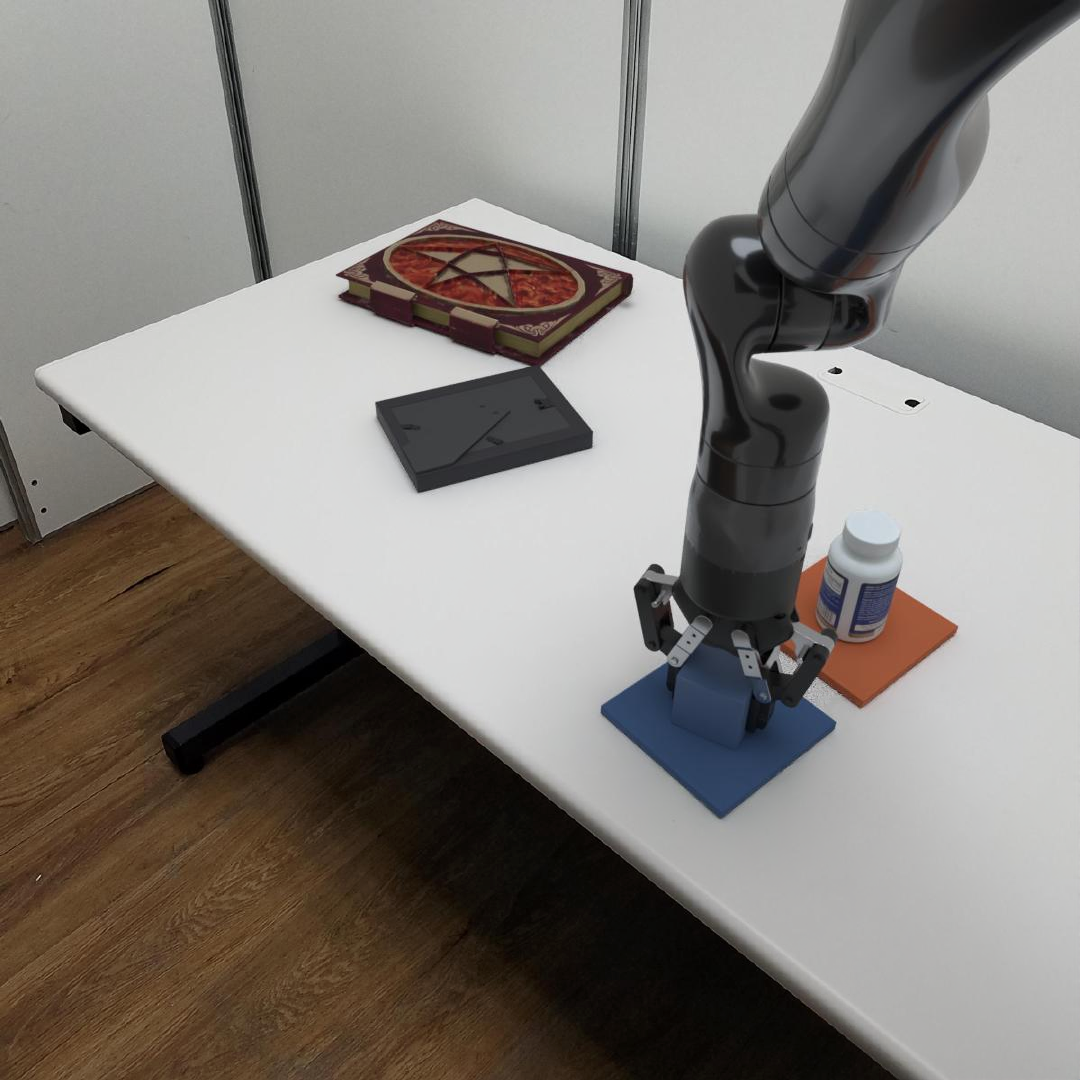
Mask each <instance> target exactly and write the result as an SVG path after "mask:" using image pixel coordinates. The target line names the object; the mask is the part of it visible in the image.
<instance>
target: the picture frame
mask: <svg viewBox="0 0 1080 1080" xmlns="http://www.w3.org/2000/svg"><path fill="white" fill-rule="evenodd" d="M374 405H375V406H374V407H375V412H376V413H375V414H376V419H377V420H378V422H379V424H380V426H381V428H382V430H383V432H384V433H385V435H386V437H387V439H388V440H389V442H390V444H391V446H392V448H393V450H394V452H395V453H396V455H397V457H398V459H399V461H400V463H401V464H402V467H403V468H404V470H405V472H406V474H407V475H408V477H409V479H410V481H411V482H412V485H413V486H414V487H415V489H416V492H417V493H421V492H426V491H429V490H434V489H437V488H442V487H445V486H448V485H449V486H450V485H453V484H457V483H461V482H465V481H468V480H472V479H475V478H479V477H484V476H488V475H490V474H495V473H498V472H502V471H506V470H511V469H514V468H518V467H522V466H525V465H529V464H533V463H536V462H537V463H538V462H540V461H545V460H548V459H552V458H553V459H554V458H556V457H561V456H564V455H567V454H571V453H575V452H580V451H584V450H587V449H590V448H593V445H594V444H593V443H594V431H593V429H592V428H591V427H590V426H589V424H588V423H587V422H586V421H585V420H584V418H583V417H582V416H581V414H579V412H578V411H577V410H576V408H575V407H573V405H572V404H571V402H570V401H569V400H568V398H566V397H565V395H564V394H563V393H562V392H561V390H560V389H559V387H557V385H556V384H555V383H554V382H553V380H552V379H551V378H550V377H549V376H548V375H547V373H546V372H545V370H543V369H542V367H541V366H540V365H534V364H533V365H531V366H526V367H522V368H521V367H520V368H518V369H517V368H516V369H513V370H509V371H504V372H499V373H495V374H491V375H487V376H482V377H479V378H478V377H477V378H473V379H470V380H465V381H461V382H455V383H452V384H447V385H443V386H439V387H435V388H430V389H426V390H420V391H417V392H412V393H409V394H404V395H400V396H395V397H391V398H386V399H381V400H378V401H374Z"/></svg>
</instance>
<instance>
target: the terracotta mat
mask: <svg viewBox="0 0 1080 1080" xmlns="http://www.w3.org/2000/svg"><path fill="white" fill-rule="evenodd" d="M827 556H828V554H826V555H825V556H824V557H822V558H821V559H820V560H818V561H817V562H815V563H814V564H812V565H810V566H809V567H807V568H806V569H804V570H802V573H801V578H800V583H799V587H798V592H797V597H796V602H795V604H796V609H797V611H798V614H799V617H800V623H802V624H804V625H806V626H807V627H809V628H811V629H813V630H814V631H816V632H818V633H820V631H821V630H822V629H823V628H822V627H821V626H820V625H819V623H818V621H817V619H816V607H817V601H818V596H819V592H820V587H821V583H822V578H823V574H824V569H825V565H826V560H827ZM958 629H959V626H958V625H957V624H955V622H953V621H951V620H949V619H948V618H946V617H945V616H943V615H942V614H941V613H938V612H936V611H935V610H933V609H932V608H930V607H929V606H927V605H925V604H924V603H922V602H921V601H919V600H918V599H916V598H915V597H913V596H911V595H910V594H908V593H906V592H905V591H903V590H902V589H901V588H899V587H897V586H896V588H895V592H894V595H893V599H892V602H891V605H890V609H889V612H888V616H887V620H886V623H885V626H884V628H883V630H882V632H881V633H880V634H879V635H878V636H877V637H876V638H874V639H872V640H869V641H866V642H847V641H843V640H840V639H838V640H837V642H836V644H835V646H834V648H833V650H832V652H831V654H830V656H829V658H828V660H827V662H826V664H825V665H824V667H823V668H822V670H821V671H820V673H819V674H818V675H817V677H818V678H819V679H820V680H822V681H823V682H824V683H826V684H828V685H829V686H830V687H832V689H834V690H836V692H839V693H840V694H841V695H843V696H844V697H845V698H846V699H848V700H849V701H850V702H852V703H854V705H856V706H857V707H859V708H860V709H862V708H863V707H865V706H866V705H867V704H869V703H870V702H871V701H872V700H873V699H874V698H876V697H877V696H879V695H880V694H881V693H882V692H884V691H885V690H886V689H887V688H889V687H890V686H891V685H892V684H894V683H895V682H897V680H899V679H900V678H901V677H903V676H904V675H905V674H906V673H908V672H909V671H910V670H911V669H913V668H914V667H916V665H918V664H920V662H922V661H923V660H924V659H925V658H926V657H928V656H929V655H930V654H932V653H933V652H934V651H936V650H937V649H938V648H939V647H941V646H942V645H943V644H945V643H946V642H947V641H948V640H949V639H951V638H952V637H953V636H954V635H955V634H957V632H958ZM780 651H782V652H784V653H785V654H787V656H788V657H790V658H792V660H794V661H796V659H797V657H796V655H795V644H794V643H793V641H791V640H790V639H789V640H788V641H786V642H784V643H782V644H780Z"/></svg>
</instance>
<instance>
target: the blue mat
mask: <svg viewBox="0 0 1080 1080" xmlns="http://www.w3.org/2000/svg"><path fill="white" fill-rule="evenodd" d="M668 664H669V663H668V661H666V662H665V663H662V665H660V666H658V667H656V669H654V670H652V671H651V672H649V673H648V674H646V675H644V677H642V678H640V679H639V680H637V681H636V682H635V683H633V684H631V685H630V686H627V688H625V689H623V690H622V691H621V692H620V693H618V694H616V695H615V696H613V697H612V698H610V699H609V700H607V701H606V702H604V703H603V704H601V705H600V714H601V715H602V716H604V717H605V718H606V719H607V720H608V721H609V722H610V723H611V724H613V725H614V726H615V727H616V728H617V729H619V731H621V732H622V733H623V734H624V735H625V736H626V737H627V738H629V739H630V741H631V742H633V743H634V744H635V745H636V746H638V748H640V749H641V750H642V751H643V752H644V753H645V754H646V755H648V756H649V757H650V759H652V760H653V761H654V762H655V763H657V764H658V765H659V766H660V767H661V768H662V769H663V770H664V771H665V772H667V773H668V774H669V775H670V776H671V777H673V778H674V780H676V781H677V782H678V783H679V785H682V786H683V788H685V789H686V790H687V791H688V792H689V793H690V794H692V795H693V796H694V797H695V798H696V800H698V801H699V802H700V803H702V804H703V805H704V806H705V807H706V808H707V809H708V810H710V811H711V812H712V813H713V814H715V816H716V817H718V818H719V819H720V820H721V819H723V818H724V817H726V816H727V815H728V814H729V813H731V812H732V811H733V810H734V809H735V808H737V807H738V806H739V805H741V804H742V803H743V802H744V801H746V800H747V799H748V798H749V797H751V796H752V795H753V794H754V793H756V792H757V791H759V790H760V789H761V788H763V786H764V785H766V784H767V783H768V782H770V781H771V780H772V779H774V778H775V777H776V776H777V775H778V774H780V773H781V772H782V771H784V770H785V769H786V768H788V767H789V766H790V765H791V764H792V763H793V762H795V761H796V760H798V759H799V758H800V757H801V756H803V755H804V754H805V753H807V751H809V750H810V749H811V748H813V747H814V746H815V745H816V744H818V743H820V741H822V740H823V739H824V738H825V737H827V736H828V735H829V734H831V733H832V732H833V731H834V730H835V729H836V726H837V724H838V723H837V721H836V720H834V719H833V718H832V717H831V716H830V715H828V714H826V713H825V712H824V711H823V710H822V709H820V708H819V707H817V706H816V705H814V704H813V703H812V702H811V701H810V700H808V699H807V698H805V697H804V696H803V697H802V699H801V700H800V702H799V703H798V705H797V706H796V707H794V708H790V707H787V706H785V705H784V704H783V703H782V702H781V700H776V703H775V707H774V713H773V715H772V717H771V718H770V720H769V722H768V724H767V726H766V727H765V728H764V729H763V730H761V729H759V728H757V729H756V731H755V733H754V734H753V733H750V732H748V731H746V733H745V735H744V737H743V739H742V740H741V742H740V744H739V746H738V748H737V749H736V751H735V750H733V749H730V748H728V747H726V746H723V745H721V744H719V743H716V742H714V741H712V740H709V739H707V738H705V737H702V736H700V735H698V734H695V733H693V732H691V731H689V730H686V729H684V728H682V727H679V726H677V725H675V724H672V723H671V718H672V709H673V701H674V700H673V699H672V693H673V692H671V691H669V690H668V688H667V685H666V682H667V673H668Z"/></svg>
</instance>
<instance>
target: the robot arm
mask: <svg viewBox="0 0 1080 1080" xmlns="http://www.w3.org/2000/svg"><path fill="white" fill-rule="evenodd" d="M1079 20H1080V0H845V2H844V6H843V9H842V12H841V15H840V19H839V23H838V26H837V29H836V35H835V37H834V41H833V46H832V49H831V51H830V56H829V59H828V61H827V64H826V67H825V69H824V72H823V75H822V76H821V80H820V81H819V84H818V86H817V88H816V90H815V91H814V93H813V96H812V98H811V100H810V102H809V104H808V105H807V107H806V109H805V110H804V112H803V114H802V115H801V117H800V119H799V121H798V123H797V125H796V126H795V128H794V130H793V131H792V134H791V136H790V137H789V139H788V141H787V142H786V144H785V146H784V148H783V150H782V151H781V154H780V155H779V157H778V159H777V161H776V162H775V164H774V166H773V168H772V170H771V171H770V174H769V175H768V177H767V179H766V182H765V183H764V186H763V188H762V191H761V195H760V198H759V200H758V206H757V213H739V214H737V213H736V214H728V215H724V216H719V217H717V218H715V219H713V220H711V221H709V222H708V223H707V224H706V225H705V226H703V228H702V229H701V230H700V231H699V232H698V233H697V234H696V236H695V237H694V239H693V240H692V242H691V243H690V246H689V248H688V250H687V252H686V255H685V257H684V258H685V259H684V262H683V268H682V288H683V294H684V295H683V296H684V302H685V307H686V311H687V316H688V321H689V323H690V328H691V332H692V337H693V340H694V345H695V349H696V350H695V351H696V354H697V359H698V367H699V373H700V382H701V397H702V398H701V401H702V402H701V407H702V408H701V409H702V410H701V421H700V428H699V429H700V431H699V439H698V446H697V447H698V448H697V457H696V464H695V470H694V473H693V477H692V479H691V483H690V487H689V492H688V498H687V507H686V515H685V523H684V524H685V525H684V533H683V534H684V535H683V543H682V552H681V560H680V569H679V570H680V571H679V575H678V576H676V575H672V574H666V572H665V569H664V568H663V567H662V566H661V565H660V564H657V563H651V564H650V565H649V566H648V567H647V568H646V570H645V571H644V572H643V574H642V575H641V577H640V578H639V579H638V581H637V582H636V583H635V585H633V594H634V599H635V603H636V611H637V613H638V614H637V615H638V619H639V624H640V630H641V633H642V639H643V644H644V646H645V648H646V649H647V650H648V651H650V652H654V653H657V652H659V651H660V652H661V653H662V654H664V655H665V657H666V662H668V663H669V664H668V673H667V682H666V685H667V688H668V690H669V691H671V692H673V693H672V699H673V700H674V692H675V684H676V676H677V674H678V673H679V671H680V670H681V668H682V667H683V665H684V664H685V662H686V661H687V659H688V658H689V656H690V655H691V654H692V653H693V651H694V650H695V649H696V647H697V646H698V645H699V644H700V642H701V641H702V643H703V644H705V645H708V646H710V647H714V648H719V649H723V650H725V651H727V652H728V653H730V654H732V655H733V656H736V657H738V658H740V661H741V665H742V668H743V672H744V676H745V677H746V678H749V679H750V682H751V686H752V690H753V695H752V697H751V699H750V704H749V710H748V715H747V720H746V725H745V730H746V731H748V732H750V733H753V734H754V733H755V731H756V729H757V728H759V729H761V730H763V729H764V728H765V727H766V726H767V724H768V722H769V720H770V718H771V717H772V715H773V713H774V707H775V703H776V700H781V702H782V703H783V704H784V705H785V706H787V707H790V708H794V707H796V706H797V705H798V703H799V702H800V700H801V699H802V697H804V696H805V694H806V693H807V692H808V690H809V689H810V687H811V686H812V684H813V683H814V681H815V680H816V678H817V677H818V676H817V675H818V674H819V673H820V671H821V670H822V668H823V667H824V665H825V664H826V662H827V660H828V658H829V656H830V654H831V652H832V650H833V648H834V646H835V644H836V642H837V640H838V635H837V633H836V632H835V631H833V630H831V629H828V628H825V629H822V630H821V631H820V633H818V632H816V631H814V630H813V629H811V628H809V627H807V626H806V625H804V624H802V623H800V617H799V614H798V611H797V609H796V604H795V602H796V597H797V592H798V587H799V583H800V578H801V573H802V572H803V568H804V562H805V559H806V555H807V550H808V546H809V545H808V543H809V541H810V540H811V539H812V534H813V529H814V522H813V520H814V515H815V509H816V492H817V491H816V489H817V480H818V475H819V471H820V467H821V461H822V457H823V452H824V448H825V447H824V446H825V442H826V437H827V433H828V427H829V422H830V413H831V412H830V410H831V407H830V399H829V397H828V393H827V391H826V390H825V388H824V386H823V385H822V383H820V382H819V381H818V380H817V379H816V378H815V377H814V376H812V375H810V374H808V373H807V372H805V371H803V370H801V369H798V368H796V367H792V366H789V365H784V364H783V363H782V364H781V363H776V362H771V361H766V360H763V359H757V358H755V357H753V356H754V355H761V354H781V353H782V354H784V353H806V352H827V351H828V352H829V351H839V350H844V349H847V348H852V347H854V346H857V345H859V344H863V343H864V342H866V341H868V340H870V339H871V338H872V337H874V336H876V335H877V334H878V333H879V332H880V331H881V330H882V328H883V327H884V325H885V324H886V322H887V319H888V317H889V314H890V312H891V307H892V304H893V299H894V295H895V290H896V287H897V284H898V282H899V279H900V276H901V274H902V271H903V268H904V266H905V263H906V260H907V259H908V258H909V257H910V256H911V255H912V254H913V253H914V252H915V251H916V250H917V249H918V248H919V247H920V246H921V245H922V244H923V243H924V242H925V241H926V240H927V239H928V238H929V237H930V236H931V234H933V232H935V230H936V229H937V228H939V226H940V225H941V224H942V223H943V222H944V221H945V220H946V219H947V218H948V217H949V215H950V214H952V212H953V211H954V209H955V208H956V207H957V205H958V204H959V203H960V202H961V200H962V199H963V198H964V196H965V195H966V193H967V192H968V191H969V189H970V188H971V186H972V185H973V182H974V181H975V178H976V176H977V174H978V171H979V170H980V168H981V165H982V163H983V161H984V158H985V154H986V150H987V146H988V141H989V136H990V128H991V110H990V102H989V93H990V91H991V90H992V89H993V88H994V87H995V86H996V85H997V84H998V83H999V82H1000V81H1001V80H1002V79H1003V78H1004V77H1006V76H1007V75H1008V74H1009V73H1010V72H1012V71H1013V70H1014V69H1015V68H1017V66H1019V64H1021V63H1023V61H1024V60H1026V59H1028V58H1029V57H1030V56H1031V55H1032V54H1034V53H1035V52H1037V51H1038V50H1039V49H1040V48H1041V47H1043V46H1044V45H1045V44H1047V43H1049V42H1050V40H1052V39H1053V38H1055V37H1056V36H1057V35H1060V33H1062V32H1063V31H1064V30H1066V29H1067V28H1068V27H1071V25H1073V24H1074V23H1076V22H1078V21H1079ZM671 598H673V600H674V602H675V604H676V605H677V607H678V609H679V610H680V612H681V614H682V615H683V616H684V618H685V620H686V622H687V624H688V625H687V627H686V628H685V629H684V631H683V632H682V633H681V632H679V631H678V630H677V629H675V622H674V621H675V620H674V617H673V611H672V605H671ZM789 639H790V640H791V641H793V643H794V644H795V655H796V657H797V659H796V660H795V662H796V663H797V664H798V665H797V666H796V668H795V669H794V671H793V672H792V673H786V672H785V673H784V672H783V667H782V663H781V660H780V652H781V649H780V644H782V643H784V642H786V641H788V640H789Z"/></svg>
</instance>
